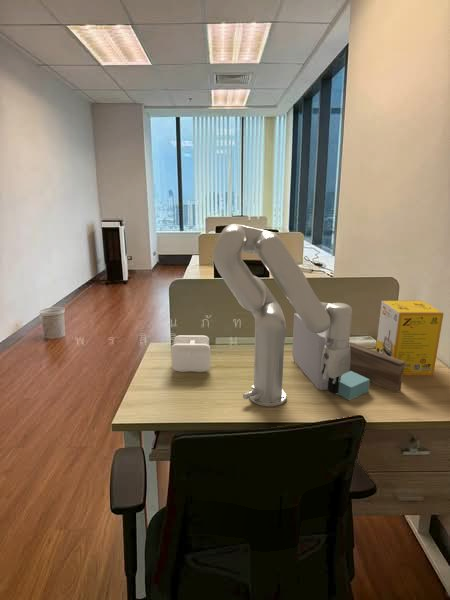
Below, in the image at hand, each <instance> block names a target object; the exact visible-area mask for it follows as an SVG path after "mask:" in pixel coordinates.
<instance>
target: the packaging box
mask: <svg viewBox="0 0 450 600" xmlns="http://www.w3.org/2000/svg"><path fill="white" fill-rule="evenodd" d="M379 312H380V314H379V322H378V329H377V339H376V347H375V351H377V352H379V353H382V354H385V355H388V356H391V357H393V358H396V359H399V360H402V361H405V364H404V369H403V376H434V372H435V366H436V360H437V355H438V349H439V343H440V337H441V331H442V324H443V319H444V312H442V311H441V310H439V309H437V308H436V307H435V306H432V305H430V304H429V303H427V302H426V301H424V300H381V304H380V311H379Z"/></svg>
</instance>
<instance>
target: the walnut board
mask: <svg viewBox="0 0 450 600" xmlns="http://www.w3.org/2000/svg"><path fill="white" fill-rule="evenodd" d="M349 344H350V351H351V361H350V370H349V371H352V372H355V373H357V374H359V375H361V376H363V377H365V378H368V379H370V382H371V383H374V384H375V385H377V386H381V388H382V387H383V388H385V389H387V390H389V391H392V392H394V393H396V394H398V393H400V392H401V389H402V382H403V377H404V375H403V369H404V364H405V361H402V360H399V359H396V358H393V357H391V356H388V355H385V354H382V353H379V352H377V351H376V350H374V349H370V348H368V347H365V346H362V345H360V344H356V343H354V342H351V341H349ZM349 371H348V372H349Z"/></svg>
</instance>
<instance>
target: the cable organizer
mask: <svg viewBox="0 0 450 600" xmlns="http://www.w3.org/2000/svg"><path fill="white" fill-rule="evenodd" d="M170 350H171V351H170V352H171V368H172V370H173V371H176V372H179V373H187V372H195V373H203V372H208V371H210V369H211V361H212V359H211V358H212V357H211V346H210V338H209V336H207V335H204V334H203V335H200V334H199V335H194V334H193V335H188V334H187V335H186V334H185V335H182V334H181V335H180V334H179V335H176V336H175V337H174V338H173V344H172V346H171V349H170Z"/></svg>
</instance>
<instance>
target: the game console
mask: <svg viewBox="0 0 450 600" xmlns="http://www.w3.org/2000/svg"><path fill="white" fill-rule="evenodd" d="M292 329H293V331H292V332H293V333H292V345H291V346H292V348H291V352H292V359H293V361H294V362H295V364H296V365H297V366H298V367H299V369H300V370H301V371H302V373H304V374H305V376H306V377H307V378H308V379H309V380H310V382H311V383H312V384H313V385H314V386H315V388H316V389H317V390H320V391H324V390H328V381H325V380H323V379H322V378H323V374H322V373H321V361H322V355H323V350H324V346H325V334H326V331H325V332H322V333H314V332H312V331H310V330H309V329H308V328H307V327H306V325H305V324H304V322H303V321H302V319H301V318H300V316H299V315H298V313H297V312H296V313H295V312H294V313H293V328H292Z"/></svg>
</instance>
